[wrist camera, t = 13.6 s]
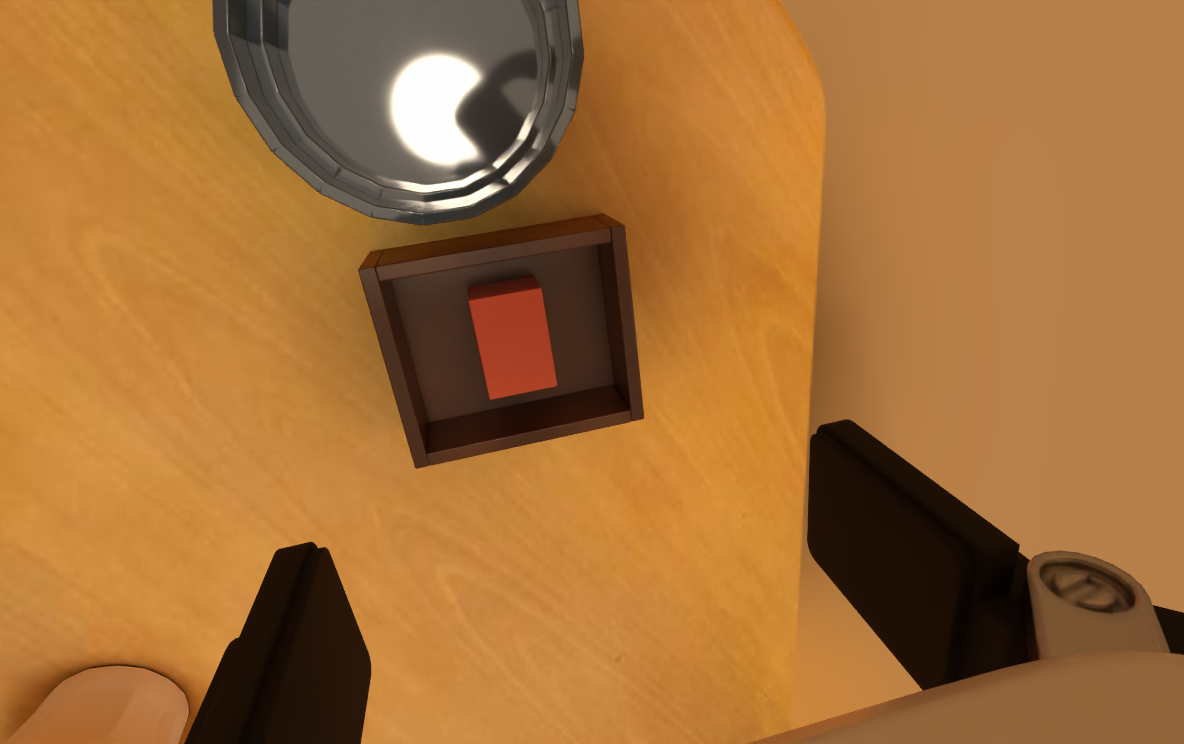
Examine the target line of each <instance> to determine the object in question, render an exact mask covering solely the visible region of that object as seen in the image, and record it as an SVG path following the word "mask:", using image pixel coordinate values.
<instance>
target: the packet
mask: <svg viewBox="0 0 1184 744" xmlns="http://www.w3.org/2000/svg"><path fill="white" fill-rule="evenodd" d="M467 293H468V303H469V307H470V312H471V317H472V321H473V326H474V330H475V335H476V340H477V344H478V349H479V353H480V358H481V363H482V367H483V372H484V376H485V381H486V386H487V390H488V395H489V399H490V400H492V399H497V398H501V397H506V396H511V395H516V394H521V393H526V392H531V391H536V390H540V389H545V388H550V387H555V386H557V380H556V374H555V368H554V362H553V356H552V350H551V344H550V337H549V331H548V325H547V319H546V313H545V307H544V301H543V295H542V289H541V287H540V285H539V283H538V281H537V280H536V278H535V276H529V277H524V278H518V279H512V280H507V281H501V282H495V283H490V284H484V285H478V286H473V287H468V288H467Z"/></svg>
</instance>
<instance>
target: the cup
mask: <svg viewBox="0 0 1184 744" xmlns="http://www.w3.org/2000/svg"><path fill="white" fill-rule="evenodd" d="M188 714H189V708H188V702H187V699H186V696H185V694H184V693H183V692H182V691H181V690H180V689H179V688H178V687H177V686H176V685H175V684H174V683H173V682H172V681H170V680H169V679H167V678H165V677H163V676H161V675H159V674H157V673H155V672H152V671H150V670H147V669H143V668H136V667H127V666H107V667H99V668H92V669H87V670H85V671H82V672H80V673H77V674H75V675H73V676H71V677H69V678H67V679H65V680H64V681H63V682H61V683H60V684H59V685H58V686H57V687H56V688H55V689H54V690H53V691H52V692H51V693H50V694H49V695H48V696H47V698H46V699H45V700H44V702H43V703H42V704H41V705H40V707H39V708H38V709H37V711H36V712H35V713H34V714H33V715H32V716H31V717H30V718H29V719H28V720H27V721H26V722H25V723H24V724H23V725H22V726H21V727H20V728H19V729H18V730H17V731H16V732H15V733H14V734H13V735H12V736H11V737H10V738H9V739H8V740H7V741H6V742H5V743H4V744H178V743H179V740H180V738H181V735H182V732H183V730H184V727H185V724H186V722H187V718H188Z"/></svg>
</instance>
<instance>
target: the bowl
mask: <svg viewBox="0 0 1184 744" xmlns="http://www.w3.org/2000/svg"><path fill="white" fill-rule="evenodd" d="M212 3H213V31H214V36H215V39H216V42H217V45H218V48H219V51H220V54H221V57H222V60H223V63H224V66H225V69H226V72H227V75H228V78H229V81H230V84H231V87H232V90H233V93H234V96H235V97H236V100H237V101H238V103H239V104H240V106H241V107H242V109H243V110H244V112H245V113H246V115H247V116H248V118H249V119H250V121H251V122H252V123H253V125H254V126H255V128H256V129H257V131H258V132H259V134H260V135H261V137H262V138H263V140H264V141H265V143H266V144H267V146H268V147H269V149H270V150H271V151H272V152H273V154H274V155H276V156H277V157H278V158H279V159H280V160H281V161H283V162H284V163H285V164H286V165H287V166H288V167H290V168H291V169H292V170H293V171H294V172H295V173H296V174H298V175H299V176H300V177H301V178H302V179H303V180H305V181H306V182H307V183H308V184H309V185H310V186H311V187H313V188H314V189H315V190H316V191H317V192H319V193H320V194H322V195H324V196H326V197H328V198H330V199H333V200H335V201H337V202H339V203H341V204H343V205H345V206H347V207H350V208H352V209H354V210H356V211H358V212H360V213H362V214H364V215H367V216H369V217H372V218H377V219H384V220H390V221H397V222H403V223H410V224H417V225H431V224H437V223H444V222H450V221H456V220H463V219H469V218H473V217H476V216H478V215H480V214H482V213H484V212H486V211H488V210H490V209H492V208H493V207H495V206H497V205H499V204H501V203H503V202H505V201H507V200H509V199H511V198H513V197H514V196H516V195H517V194H519V193H520V192H521V191H522V190H523V189H524V188H525V187H526V186H527V185H528V183H529V182H530V181H531V180H532V179H533V178H534V177H535V176H536V175H537V174H538V173H539V172H540V171H541V170H542V169H543V168H544V167H545V166H546V165H547V164H548V163H549V162H550V161H551V159H552V158H553V156H554V154H555V152H556V150H557V148H558V146H559V144H560V142H561V140H562V138H563V136H564V133H565V131H566V129H567V127H568V125H569V123H570V121H571V119H572V117H573V115H574V113H575V110H576V104H577V98H578V92H579V86H580V79H581V73H582V67H583V61H584V47H583V38H582V30H581V21H580V12H579V4H578V0H212Z"/></svg>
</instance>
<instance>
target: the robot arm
mask: <svg viewBox="0 0 1184 744" xmlns="http://www.w3.org/2000/svg"><path fill="white" fill-rule="evenodd" d="M808 500H809V501H808V534H807V542H808V547H809V550H810V553H811V555H812V557H813V558H814V560H815V561H816V562H817V563H818V565H819V566H820V567H821V568H822V569H823V571H824V572H825V573H826V574H827V575H828V577H829V578H830V579H831V580H832V581H833V583H834V584H835V585H836V586H837V587H838V589H839V590H840V591H841V592H842V594H843V595H844V596H845V597H846V598H847V600H848V601H849V602H850V603H851V604H852V606H853V607H854V608H855V609H856V610H857V612H858V613H859V614H860V615H861V616H862V618H863V619H864V620H865V621H866V622H867V624H868V625H869V626H870V627H871V628H872V630H873V631H874V632H875V633H876V635H877V636H878V637H879V638H880V639H881V640H882V642H883V643H884V644H885V645H886V646H887V648H888V649H889V650H890V651H891V653H892V654H893V655H894V656H895V657H896V659H897V660H898V661H899V662H900V663H901V665H902V666H903V667H904V668H905V669H906V671H907V672H908V673H909V674H910V675H911V677H912V678H913V679H914V680H915V681H916V683H917V684H918V685H919V686H920V688H921V689H922V690H923V691H920V692H917V693H914V694H910V695H907V696H904V697H900V698H897V699H894V700H890V701H887V702H884V703H880V704H877V705H874V706H871V707H867V708H864V709H861V710H857V711H854V712H850V713H847V714H844V715H840V716H837V717H834V718H830V719H827V720H824V721H820V722H817V723H814V724H810V725H807V726H804V727H800V728H797V729H794V730H790V731H787V732H784V733H780V734H777V735H774V736H771V737H767V738H764V739H761V740H757V741H754V742H751V743H748V744H1184V613H1182V612H1178V611H1174V610H1170V609H1166V608H1162V607H1158V606H1154V605H1152V603H1151V600H1150V598H1149V596H1148V594H1147V592H1146V591H1145V589H1144V588H1143V586H1142V585H1141V584H1140V583H1139V582H1138V581H1136V580H1135V579H1134V578H1133V577H1132V576H1131V575H1130V574H1128V573H1126V572H1125V571H1123V570H1121V569H1120V568H1118V567H1116V566H1115V565H1113V564H1110V563H1108V562H1106V561H1103V560H1101V559H1098V558H1096V557H1092V556H1088V555H1085V554H1081V553H1076V552H1067V551H1051V552H1044V553H1041V554H1039V555H1036V556H1034V557H1033V558H1032V559H1031V560H1029V559H1027V558H1026V557H1025V556H1023V555H1022V554H1021V553H1019V552H1018V551H1019V546H1020V545H1019V544H1018V543H1016V542H1015V541H1014V540H1012V539H1011V538H1009V537H1008V536H1007V535H1006V534H1004V533H1003V532H1002V531H1000V530H999V529H997V528H996V527H995V526H993V525H992V524H991V523H989V522H988V521H987V520H985V519H984V518H983V517H981V516H980V515H979V514H977V513H976V512H975V511H973V510H972V509H970V508H969V507H968V506H966V505H965V504H964V503H962V502H961V501H960V500H958V499H957V498H956V497H954V496H953V495H952V494H950V493H949V492H948V491H946V490H945V489H943V488H942V487H940V486H939V485H938V484H937V483H935V482H934V481H933V480H931V479H930V478H929V477H927V476H926V475H924V474H923V473H922V472H921V471H919V470H918V469H916V468H915V467H914V466H912V465H911V464H910V463H908V462H907V461H906V460H904V459H903V458H902V457H900V456H899V455H898V454H896V453H895V452H894V451H892V450H891V449H889V448H888V447H887V446H885V445H884V444H883V443H881V442H880V441H879V440H877V439H876V438H875V437H873V436H872V435H871V434H869V433H868V432H867V431H865V430H864V429H862V428H861V427H860V426H858V425H857V424H856V423H854V422H853V421H851V420H841V421H837V422H833V423H828V424H824V425H821V426H819V427H818V429H817V433H816V434H814V435H812V437H811V439H810V465H809V499H808ZM370 679H371V661H370V656H369V653H368V650H367V648H366V645H365V643H364V640H363V637H362V635H361V632H360V630H359V627H358V624H357V622H356V619H355V617H354V614H353V612H352V609H351V606H350V604H349V601H348V599H347V596H346V593H345V591H344V588H343V586H342V583H341V580H340V578H339V575H338V573H337V570H336V568H335V565H334V562H333V560H332V557H331V555H330V552H329V550H328V549H327V548H325V547H323V548H319V549H318V548H317V546H316V545H315V543H313V542H308V543H304V544H299V545H295V546H291V547H286V548H282V549H279V550H277V551H276V552H275V554H274V556H273V558H272V561H271V563H270V566H269V568H268V570H267V573H266V575H265V577H264V580H263V582H262V584H261V587H260V589H259V592H258V594H257V596H256V599H255V601H254V603H253V606H252V608H251V610H250V613H249V615H248V618H247V620H246V622H245V625H244V627H243V629H242V632H241V634H240V636H239V638H236V639H234V640H233V641H232V642H230V644H229V645H228V647H227V649H226V650H225V652H224V655H223V657H222V659H221V661H220V664H219V666H218V668H217V671H216V673H215V675H214V677H213V680H212V682H211V684H210V686H209V689H208V691H207V693H206V696H205V698H204V700H203V702H202V705H201V707H200V709H199V712H198V714H197V716H196V718H195V721H194V723H193V725H192V727H191V730H190V732H189V734H188V737H187V739H186V741H185V743H184V744H361V738H362V731H363V725H364V718H365V712H366V705H367V699H368V692H369V686H370Z"/></svg>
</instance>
